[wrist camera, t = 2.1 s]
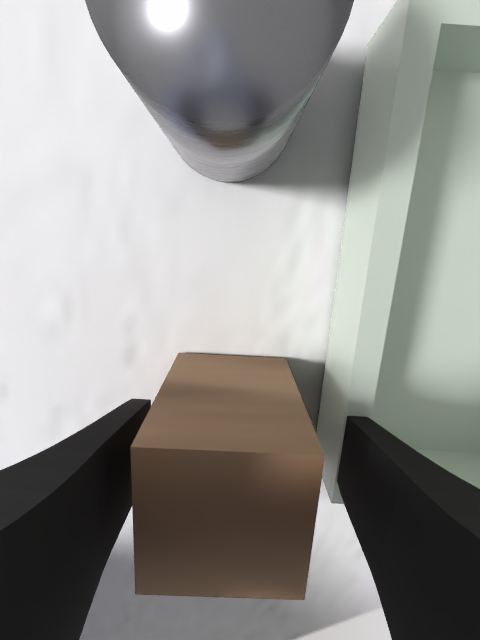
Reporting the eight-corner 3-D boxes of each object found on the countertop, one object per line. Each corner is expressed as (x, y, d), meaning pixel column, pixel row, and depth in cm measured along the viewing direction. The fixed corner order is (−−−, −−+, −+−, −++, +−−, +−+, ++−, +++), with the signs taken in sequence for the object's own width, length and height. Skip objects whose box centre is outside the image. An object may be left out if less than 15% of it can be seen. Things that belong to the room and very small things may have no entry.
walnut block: (276, 450, 13) (304, 599, 8) (178, 446, 13) (135, 594, 7) (285, 358, 12) (325, 455, 7) (178, 352, 12) (130, 446, 6)
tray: (507, 461, 13) (569, 512, 11) (313, 453, 13) (331, 503, 10) (630, 63, 10) (764, 4, 7) (367, 44, 9) (413, -24, 7)
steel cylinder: (287, 185, 10) (340, 129, 5) (164, 178, 10) (86, 112, 5) (299, 40, 9) (381, -220, 4) (164, 30, 9) (65, -250, 4)
